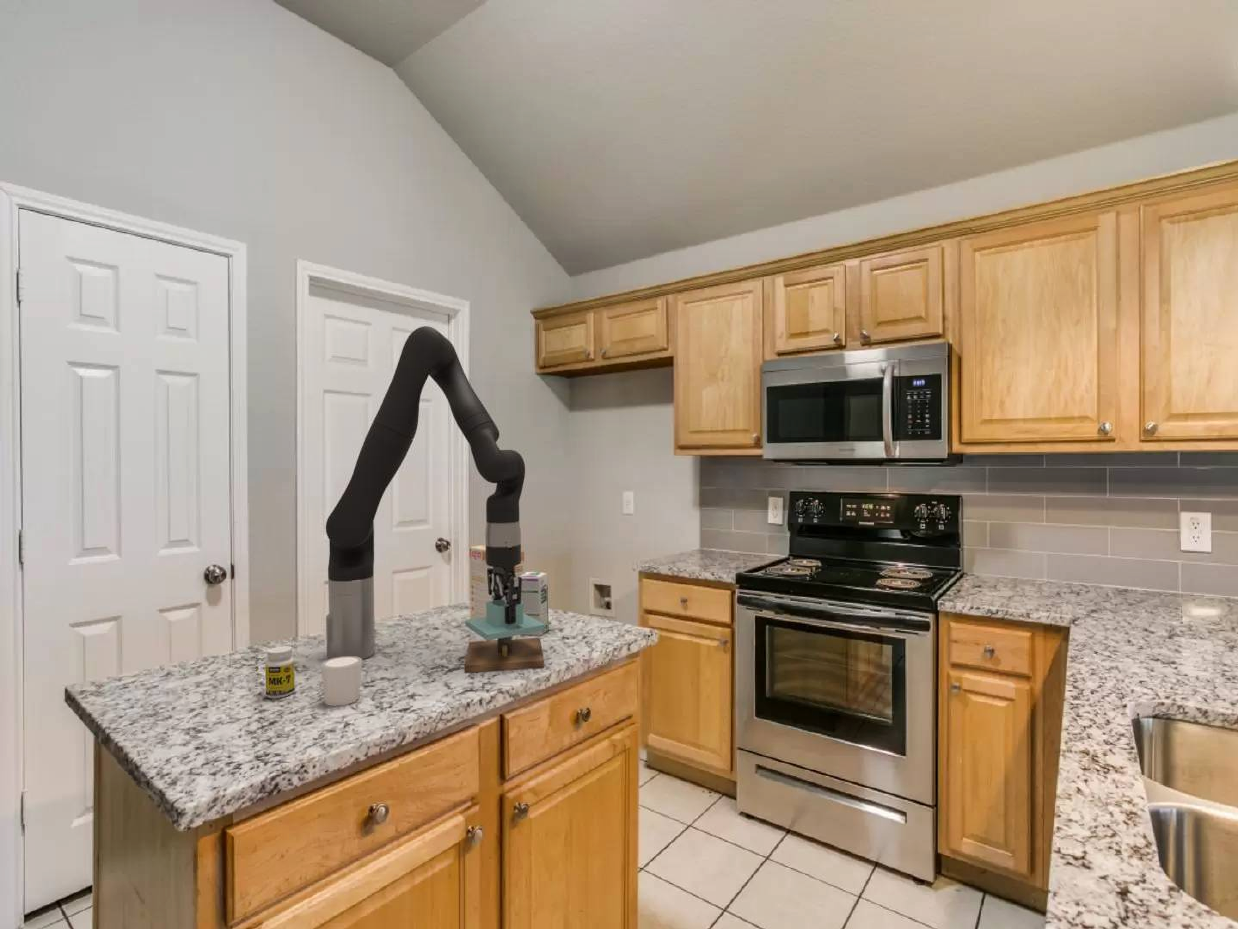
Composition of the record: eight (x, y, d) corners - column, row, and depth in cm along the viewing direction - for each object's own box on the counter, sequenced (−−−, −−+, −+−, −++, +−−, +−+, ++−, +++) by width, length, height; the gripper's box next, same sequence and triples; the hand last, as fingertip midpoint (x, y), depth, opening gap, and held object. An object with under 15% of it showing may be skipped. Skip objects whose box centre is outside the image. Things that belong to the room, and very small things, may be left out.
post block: (464, 672, 130) (464, 631, 130) (469, 648, 146) (468, 611, 145) (544, 667, 133) (543, 626, 132) (540, 644, 148) (539, 607, 148)
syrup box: (541, 636, 155) (541, 576, 154) (518, 635, 156) (517, 575, 156) (548, 629, 160) (548, 571, 160) (526, 628, 162) (525, 571, 161)
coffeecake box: (526, 624, 165) (525, 549, 164) (503, 630, 160) (502, 552, 159) (491, 614, 175) (490, 543, 175) (469, 619, 170) (468, 546, 169)
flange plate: (465, 625, 141) (465, 600, 141) (520, 616, 148) (520, 593, 148) (487, 640, 130) (486, 613, 130) (545, 630, 137) (545, 604, 137)
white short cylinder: (353, 689, 121) (352, 653, 121) (368, 699, 116) (368, 661, 116) (315, 700, 117) (314, 661, 116) (329, 710, 112) (329, 671, 111)
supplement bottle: (265, 701, 116) (264, 654, 116) (266, 692, 120) (265, 647, 120) (295, 696, 118) (294, 650, 118) (294, 687, 123) (293, 643, 122)
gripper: (474, 540, 142) (476, 615, 143) (499, 548, 130) (500, 631, 131) (506, 537, 146) (507, 610, 147) (533, 545, 134) (534, 625, 135)
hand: (504, 619), depth 139 cm, fingers closed on flange plate, 6 cm apart
